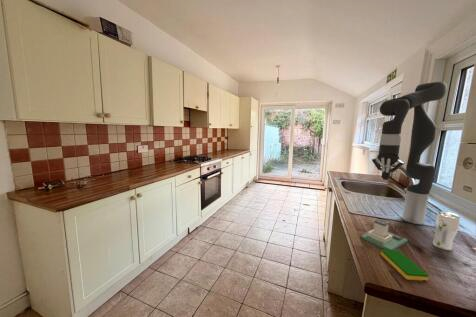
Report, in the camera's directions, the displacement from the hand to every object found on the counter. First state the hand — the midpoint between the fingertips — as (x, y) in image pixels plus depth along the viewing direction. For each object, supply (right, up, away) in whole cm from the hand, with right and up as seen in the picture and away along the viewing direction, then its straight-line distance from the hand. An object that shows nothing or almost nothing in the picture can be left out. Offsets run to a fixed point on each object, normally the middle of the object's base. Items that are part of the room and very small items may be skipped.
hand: (385, 179), depth 93 cm
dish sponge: (-10, -31, -21) cm, 39 cm away
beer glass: (+20, -29, -7) cm, 36 cm away
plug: (-6, -27, -4) cm, 27 cm away
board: (-3, -28, -4) cm, 28 cm away
